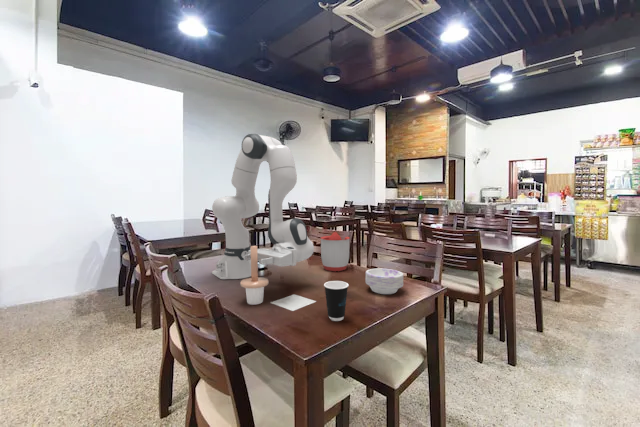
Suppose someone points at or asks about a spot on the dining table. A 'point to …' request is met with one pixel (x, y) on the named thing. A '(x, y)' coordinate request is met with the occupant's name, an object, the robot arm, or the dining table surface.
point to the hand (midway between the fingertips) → (252, 260)
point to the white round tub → (254, 295)
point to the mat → (293, 302)
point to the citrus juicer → (335, 252)
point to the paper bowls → (384, 280)
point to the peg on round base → (254, 273)
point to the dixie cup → (336, 299)
